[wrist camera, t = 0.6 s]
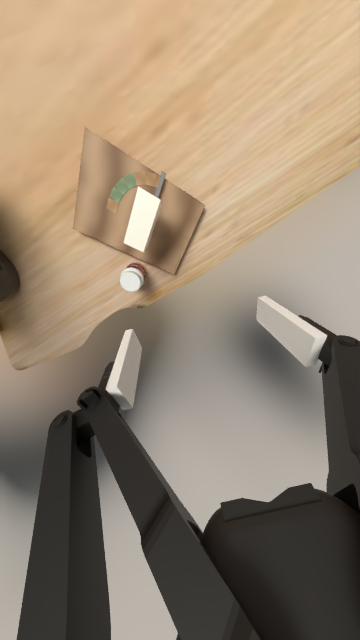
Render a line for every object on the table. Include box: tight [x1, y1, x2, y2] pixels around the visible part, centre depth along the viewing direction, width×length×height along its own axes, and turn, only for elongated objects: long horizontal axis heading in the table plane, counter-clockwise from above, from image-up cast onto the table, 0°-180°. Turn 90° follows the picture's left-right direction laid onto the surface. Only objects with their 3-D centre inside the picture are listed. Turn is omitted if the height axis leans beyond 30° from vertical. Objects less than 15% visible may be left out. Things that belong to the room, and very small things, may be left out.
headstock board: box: [73, 127, 205, 274], centre depth 31 cm, size 22×15×2 cm
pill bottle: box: [120, 263, 146, 292], centre depth 34 cm, size 5×5×8 cm
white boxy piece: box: [124, 171, 166, 252], centre depth 24 cm, size 3×12×11 cm, turn 154°
